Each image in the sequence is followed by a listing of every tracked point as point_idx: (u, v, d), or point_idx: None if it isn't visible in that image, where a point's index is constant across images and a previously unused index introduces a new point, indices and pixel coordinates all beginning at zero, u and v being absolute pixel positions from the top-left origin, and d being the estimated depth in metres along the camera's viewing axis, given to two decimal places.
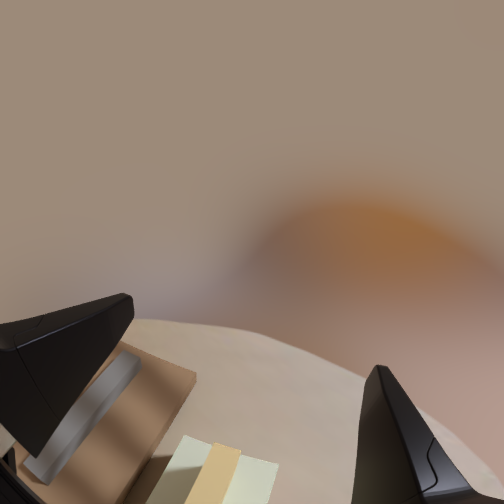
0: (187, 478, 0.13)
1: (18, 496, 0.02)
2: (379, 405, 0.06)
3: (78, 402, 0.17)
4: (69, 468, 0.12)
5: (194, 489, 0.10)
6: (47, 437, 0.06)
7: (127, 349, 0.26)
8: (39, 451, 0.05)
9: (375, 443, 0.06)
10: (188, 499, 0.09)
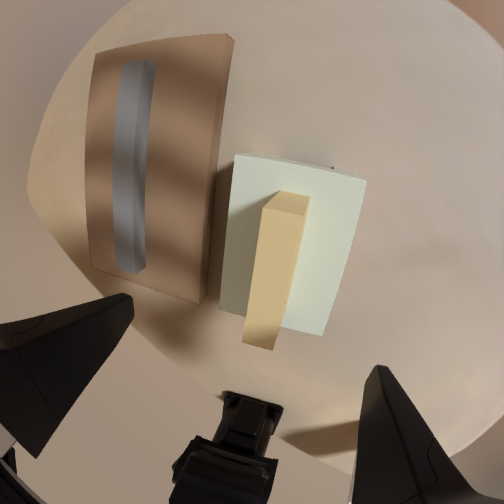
0: (255, 218, 0.15)
1: (18, 496, 0.02)
2: (379, 405, 0.06)
3: (115, 166, 0.18)
4: (150, 238, 0.21)
5: (254, 282, 0.12)
6: (47, 437, 0.06)
7: (130, 52, 0.15)
8: (39, 451, 0.05)
9: (375, 443, 0.06)
10: (251, 296, 0.12)
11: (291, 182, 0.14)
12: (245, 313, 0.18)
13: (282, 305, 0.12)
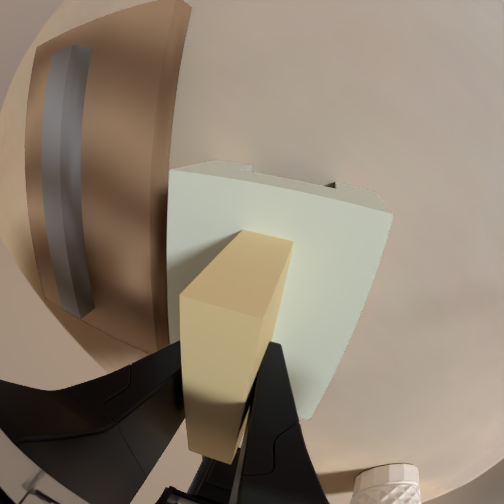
0: None
1: None
2: (256, 380, 0.07)
3: (44, 187, 0.12)
4: (94, 275, 0.15)
5: (188, 400, 0.06)
6: (131, 495, 0.05)
7: (68, 39, 0.10)
8: None
9: (247, 419, 0.06)
10: (187, 413, 0.07)
11: (261, 216, 0.08)
12: None
13: (236, 430, 0.07)
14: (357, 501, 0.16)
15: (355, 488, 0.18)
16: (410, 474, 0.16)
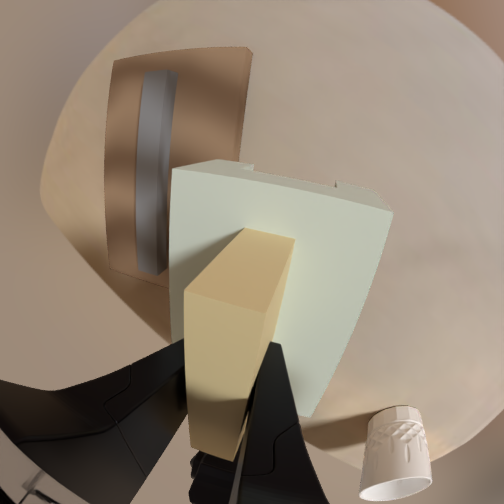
0: None
1: None
2: (256, 380, 0.07)
3: (138, 172, 0.19)
4: None
5: (191, 396, 0.07)
6: (130, 495, 0.05)
7: (151, 60, 0.17)
8: None
9: (247, 419, 0.06)
10: (190, 410, 0.07)
11: (262, 214, 0.08)
12: None
13: (239, 426, 0.07)
14: (372, 439, 0.23)
15: (369, 430, 0.25)
16: (414, 415, 0.23)
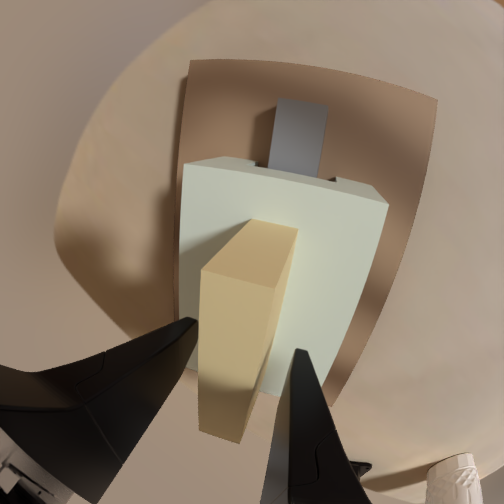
0: None
1: (18, 496, 0.02)
2: (286, 388, 0.07)
3: None
4: None
5: (203, 374, 0.07)
6: (107, 481, 0.05)
7: (272, 74, 0.11)
8: (99, 498, 0.05)
9: (279, 428, 0.06)
10: (200, 389, 0.08)
11: (268, 206, 0.09)
12: None
13: (247, 405, 0.07)
14: (436, 486, 0.17)
15: (431, 477, 0.19)
16: (471, 460, 0.17)
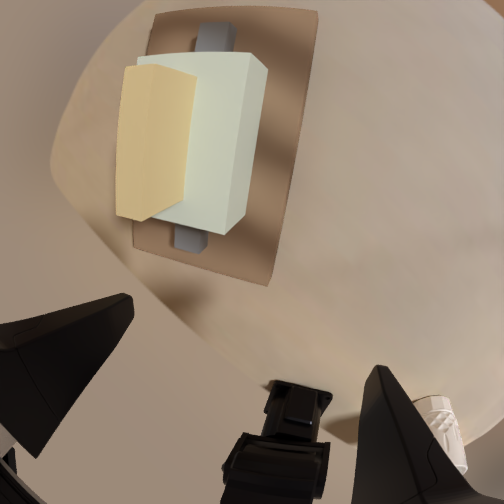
0: None
1: (18, 496, 0.02)
2: (379, 405, 0.06)
3: None
4: None
5: (119, 138, 0.10)
6: (47, 437, 0.06)
7: (203, 15, 0.14)
8: (39, 451, 0.05)
9: (375, 443, 0.06)
10: (117, 154, 0.11)
11: (180, 68, 0.12)
12: None
13: (142, 158, 0.11)
14: None
15: None
16: (447, 404, 0.21)
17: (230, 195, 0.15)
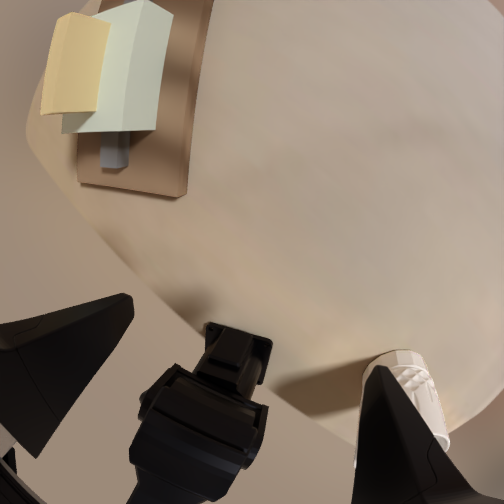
0: None
1: (18, 496, 0.02)
2: (379, 405, 0.06)
3: None
4: (135, 133, 0.19)
5: (48, 62, 0.10)
6: (47, 437, 0.06)
7: None
8: (39, 451, 0.05)
9: (375, 443, 0.06)
10: (45, 72, 0.11)
11: (102, 21, 0.12)
12: (74, 129, 0.16)
13: (57, 69, 0.11)
14: None
15: (364, 383, 0.22)
16: (419, 361, 0.20)
17: (126, 98, 0.15)
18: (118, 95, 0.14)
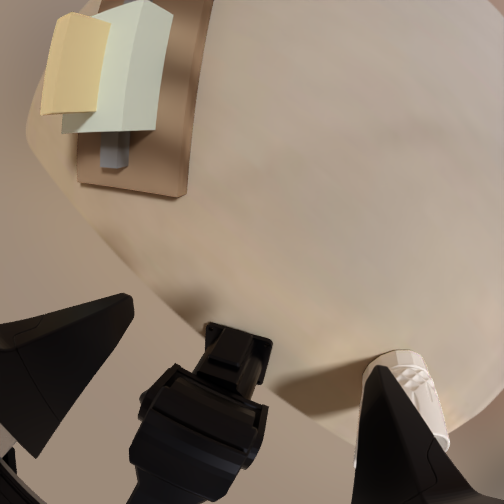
0: None
1: (18, 496, 0.02)
2: (379, 405, 0.06)
3: None
4: (135, 134, 0.19)
5: (48, 62, 0.10)
6: (48, 437, 0.06)
7: None
8: (39, 451, 0.05)
9: (375, 443, 0.06)
10: (45, 73, 0.11)
11: (102, 21, 0.12)
12: (74, 129, 0.16)
13: (57, 69, 0.11)
14: None
15: (364, 383, 0.22)
16: (419, 361, 0.20)
17: (126, 98, 0.15)
18: (118, 95, 0.14)
